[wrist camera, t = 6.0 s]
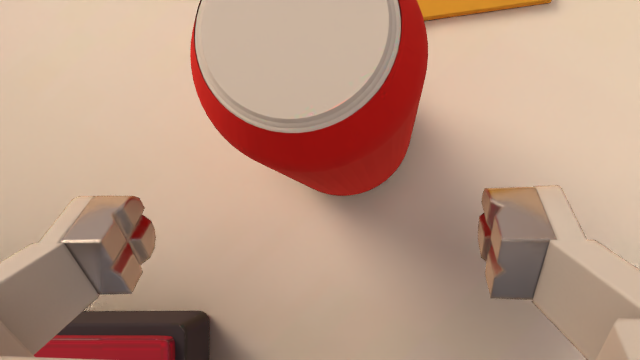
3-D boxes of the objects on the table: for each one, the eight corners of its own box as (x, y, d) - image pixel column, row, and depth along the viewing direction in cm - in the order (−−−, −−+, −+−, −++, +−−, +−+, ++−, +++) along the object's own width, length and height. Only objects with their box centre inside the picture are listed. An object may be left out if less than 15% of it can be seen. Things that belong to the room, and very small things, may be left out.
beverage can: (325, 222, 22) (248, 217, 10) (259, 115, 23) (117, -5, 11) (436, 151, 21) (495, 57, 9) (363, 46, 22) (334, -159, 10)
